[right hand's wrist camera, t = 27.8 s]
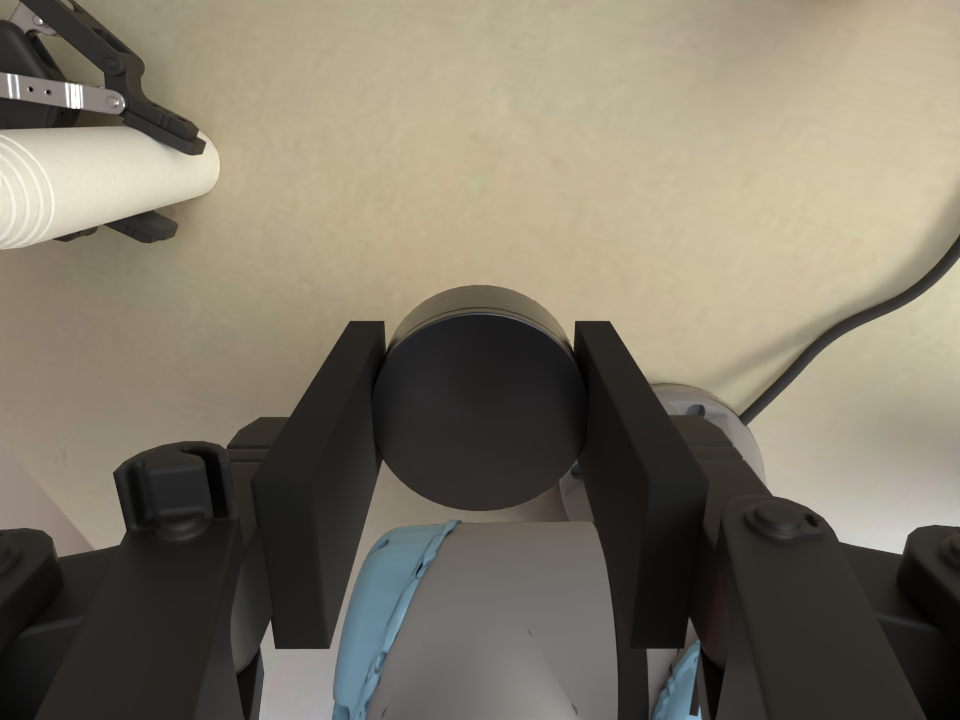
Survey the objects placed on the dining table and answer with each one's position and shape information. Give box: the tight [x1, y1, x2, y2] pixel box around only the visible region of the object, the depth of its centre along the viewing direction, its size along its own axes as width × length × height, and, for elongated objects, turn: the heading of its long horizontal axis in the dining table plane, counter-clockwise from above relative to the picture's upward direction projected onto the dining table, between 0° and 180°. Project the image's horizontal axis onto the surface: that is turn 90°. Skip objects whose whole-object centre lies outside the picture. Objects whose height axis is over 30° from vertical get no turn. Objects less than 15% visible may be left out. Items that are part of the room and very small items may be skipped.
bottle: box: [0, 126, 220, 250], centre depth 31 cm, size 5×5×23 cm
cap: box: [371, 285, 589, 511], centre depth 13 cm, size 4×4×2 cm
